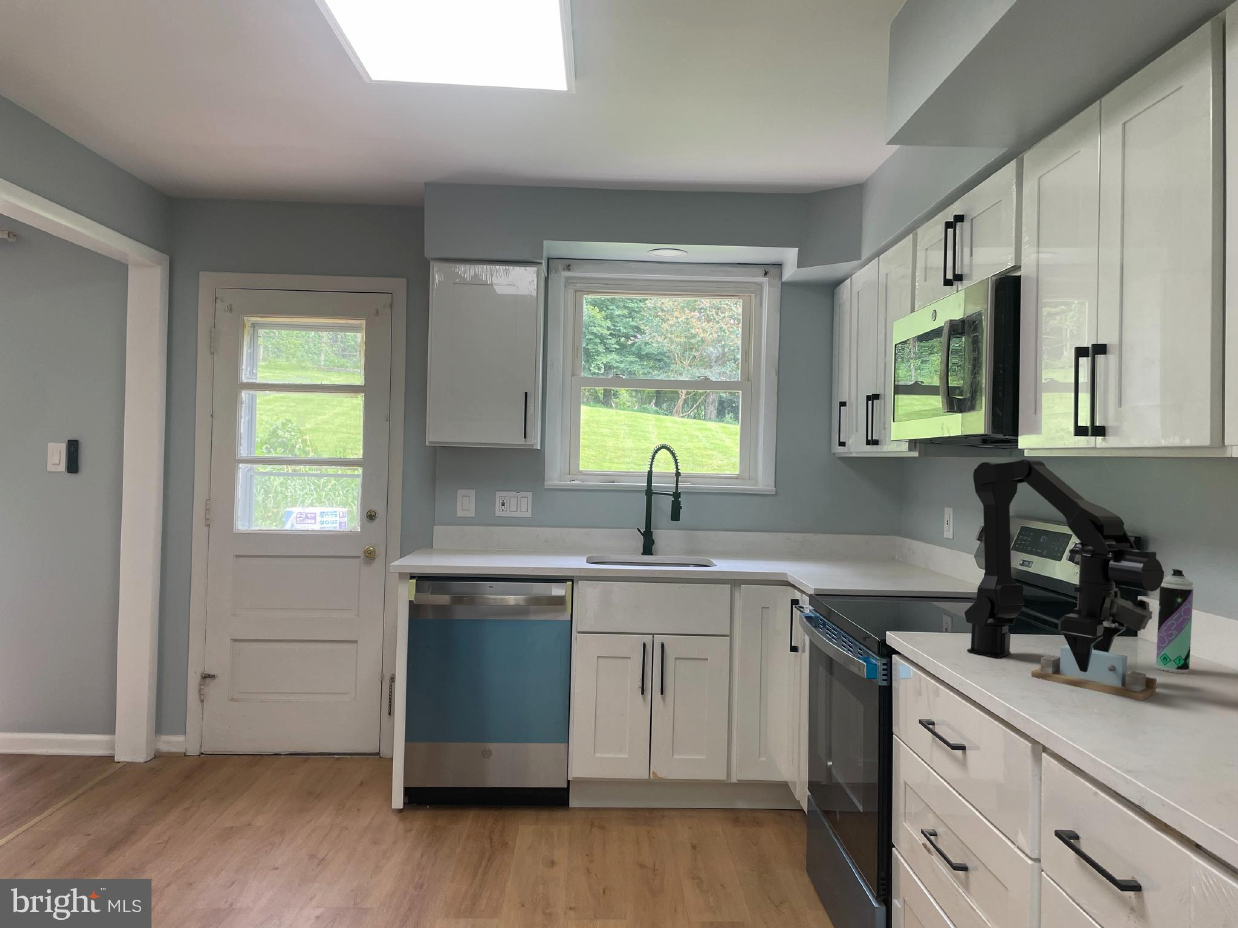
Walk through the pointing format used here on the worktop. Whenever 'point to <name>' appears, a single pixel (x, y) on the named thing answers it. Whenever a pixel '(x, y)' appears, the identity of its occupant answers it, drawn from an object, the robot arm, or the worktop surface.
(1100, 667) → the door panel
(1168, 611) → the spray can
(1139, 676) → the rail
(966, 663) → the worktop surface
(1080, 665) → the robot arm
